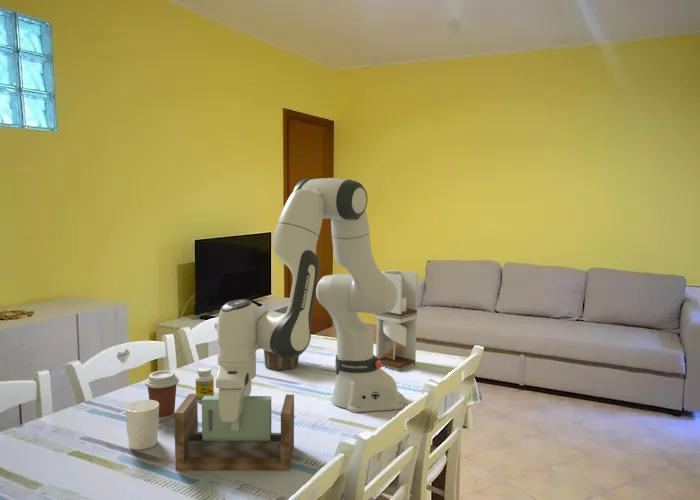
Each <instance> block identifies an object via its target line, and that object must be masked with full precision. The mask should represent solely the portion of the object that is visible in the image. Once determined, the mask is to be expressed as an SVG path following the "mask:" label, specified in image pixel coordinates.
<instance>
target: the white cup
mask: <svg viewBox="0 0 700 500" xmlns="http://www.w3.org/2000/svg"><path fill="white" fill-rule="evenodd" d="M125 418H126V419H125V420H126V431H127V437H128V438H127V439H128V446H129V448H130V449H132V450H138V451H140V450H146V449H150V448H153V447H154V446H156V445H157V443H158V442H159V441H158V440H159V439H158V438H159V437H158V436H159V433H158V432H159V423H160V422H159V421H160V420H159V403H158V402H157V401H154V400H149V399H141V400H136V401H133V402H130V403H128V404H127V405H126V406H125Z"/></svg>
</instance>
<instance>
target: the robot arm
mask: <svg viewBox="0 0 700 500" xmlns="http://www.w3.org/2000/svg"><path fill="white" fill-rule="evenodd" d="M367 205H368V193H367V191H366V189H365V186H363V184H362V183H360V182H359V181H357V180H352V179H342V178H338V177H337V178H335V177H327V178H326V177H322V178H320V177H319V178H313V177H311V178H310V177H309V178H304V179H302V180H300V181H298V182H297V183H296V185H295V186H294V188H293V190H292V193H291V194H290V195H289V197H288V198H287V200H286V202H285V204H284V205H283V208H282V210H281V213H280V215H279V218H278V220H277V224H276V226H275V229H274V233H273V236H272V245H271V246H272V249H273V252H274V254H275V255H276V257H277V258H278V260H280V262H281V263H283V264H284V265H285V266H286V267H287V268H288V269H289V270H290V273H291V276H292V282H291V283H292V284H291V289H290V290H291V291H290V295H289V300H288V306H287V310H286V311H285V313H282V312H278V311H275V310H271V309H267V308H264V307H261V306H259V305H256V304H255V303H254V302H253V301H252V300H249V299H234V300H231V301H228V302H225V304H223V305H222V306H221V308H220V311H219V313H218V318H217V319H218V320H217V342H218V345H219V349H218V354H217V373H216V374H217V375H216V378H215V388H216V389H218V395H217V396H218V398H219V411H220V419H221V421H222V423H231V429H232V430H235V431H237V430H239V428H240V421H239V417H240V415H241V412H242V410H243V408H244V399H245V396H251V392H252V380H253V379H254V378H255V377H256V376H257V354H256V353H257V351H258V350H263V351H264V350H266V351H269V352H272V353H275V354H276V355H278V356H281V357H283V358H285V359H294V358H296V357H298V356H299V357H300V356H301V355H302V354H303V353H304V352H306V349H308V347H309V345H310V342H311V338H312V315H313V310H314V303H315V297H316V299H317V302H318V303H319V304H320V306H322V307H323V308H324V309H325V310H326V312H327V313H328V314H329V316H330V317H331V320H332V322H333V324H334V328H335V331H336V345H337V346H336V348H337V349H336V350H337V351H336V353H337V354H336V355H335V359H334V361H335V362H334V363H335V365H334V367H335V374H336V375H335V382H334V388H333V389H334V390H333V393H332V396H331V403H332V404H333V405H335V406H337V407H339V408H343V409H346V410H348V411H349V412H353V413H363V412H365V413H366V412H377V411H378V412H379V411H390V410H391V411H393V409H394V410H401V409H403V408H404V407H405V402H406V401H405V396H404V395H403V393H401V392H400V391H399V390H398V386H397V383H396V381H395V379H394V378H393V377H392V375H390V374H388V373H387V372H386V371H384V370H383V369H382V368H383V367H382V362H381V361H380V359H379V358H378V356H377V355H376V354H375V355H374V332H373V329H372V328H371V327H370V326H369V325H368V324H367V323H365V322H364V321H362V319H361V317H360V316H359V314H358V313H362V314H363V313H364V314H372V315H373V314H374V315H375V314H377V313H387V312H390V311H391V310H392V309H393V308H394V307H395V305H396V303H397V299H398V292H397V288H396V286H395V285H394V283H393V282H392V281H391V280H389V279H388V278H387V277H386V276H385V275H384V274H383V273H382V271H381V270H380V267H378V265H377V263H376V262H375V259H374V256H373V252H372V244H371V236H370V235H371V234H370V224H369V219H368V214H367V210H366V208H367ZM323 219H325V220H329V219H330V220H331V221H330V228H331V229H330V231H331V241H332V242H331V243H332V250H333V251H332V252H333V257H334V260H335V261H336V263H337V264H338V265H339V266H340V267H342V268H344V269H345V270H346V271H347V272H348V274H344V273H343V274H341V273H336V274H327V275H324V276H322V277H321V278H320V279H319V272H320V271H319V270H320V261H319V257H318V255H317V243H318V240H319V236H320V232H321V230H322V229H321V228H322V224H323ZM318 279H319V280H318Z"/></svg>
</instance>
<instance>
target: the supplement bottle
mask: <svg viewBox="0 0 700 500" xmlns="http://www.w3.org/2000/svg"><path fill="white" fill-rule="evenodd" d="M214 381H215V380H214V376H213V374H212V368H211V367H200V368H198V369H197V376H196V377H195V394H197V403H202V398H203V397H204V396H215V394H214V393H215V389H214V387H215V382H214Z"/></svg>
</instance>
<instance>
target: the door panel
mask: <svg viewBox="0 0 700 500" xmlns="http://www.w3.org/2000/svg"><path fill="white" fill-rule="evenodd" d="M239 421H240V428H239V430H237V431H235V430H232V429H231V423H222V421H221V419H220V411H219V398H218V395H214V396H204V397H203V398H202V402H201V432H202V441H271V433H272V396H271V395H249V396H245V399H244V408H243V410H242V412H241V415H240V417H239Z"/></svg>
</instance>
